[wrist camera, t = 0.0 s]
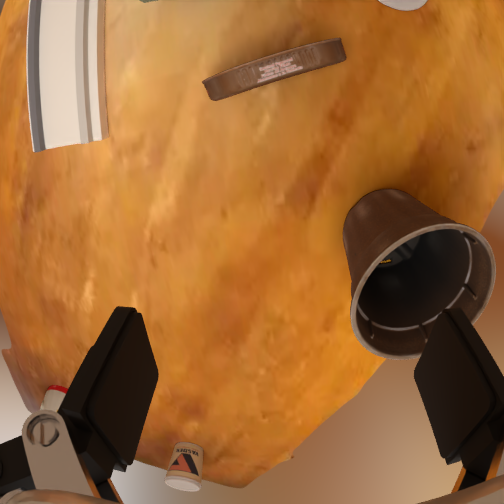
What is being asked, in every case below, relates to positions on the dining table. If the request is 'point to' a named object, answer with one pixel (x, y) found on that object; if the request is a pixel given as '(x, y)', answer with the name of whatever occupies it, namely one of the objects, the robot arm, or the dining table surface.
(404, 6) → the teacup
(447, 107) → the dining table surface
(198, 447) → the coffee cup
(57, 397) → the kitchen timer
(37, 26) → the white railed tray
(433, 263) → the plant pot
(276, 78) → the tin
